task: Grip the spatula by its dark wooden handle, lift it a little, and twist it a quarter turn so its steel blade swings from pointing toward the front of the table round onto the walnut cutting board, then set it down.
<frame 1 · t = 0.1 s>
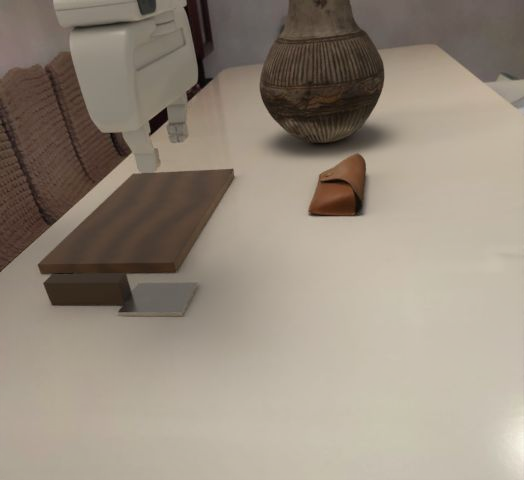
hand: (166, 154, 53), 17 cm above the table, tool pointing down, fingers open, 8 cm apart
vase: (323, 141, 112), on the table
board: (151, 218, 87), on the table
spatula: (159, 300, 65), on the table
sunglasses case: (339, 195, 87), on the table
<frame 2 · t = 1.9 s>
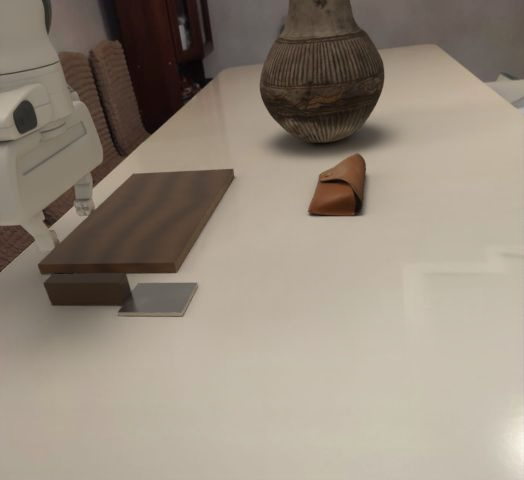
hand: (69, 229, 61), 9 cm above the table, tool pointing down, fingers open, 8 cm apart
nothing on the table moved.
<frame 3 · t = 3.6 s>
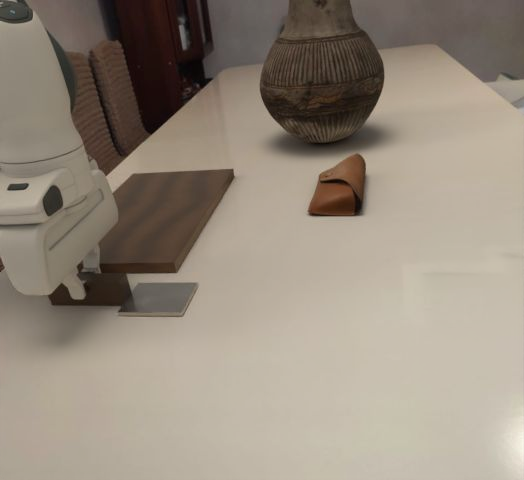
hand: (87, 288, 66), 2 cm above the table, tool pointing down, fingers closed on spatula, 2 cm apart
spatula: (159, 300, 65), on the table, touching gripper
everything else where it was.
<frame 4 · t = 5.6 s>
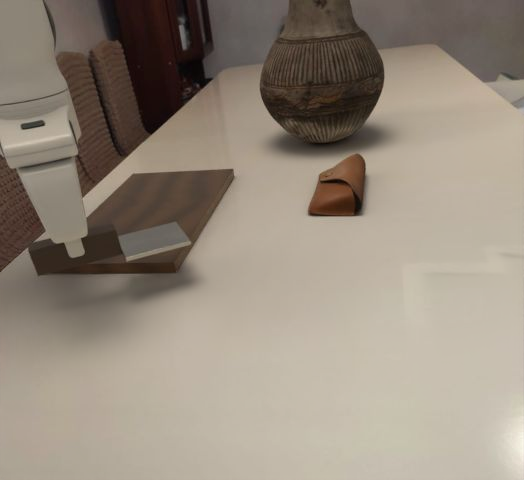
hand: (75, 248, 63), 7 cm above the table, tool pointing down, fingers closed on spatula, 2 cm apart
spatula: (153, 242, 66), point 5 cm above the table, touching gripper
everything else where it was.
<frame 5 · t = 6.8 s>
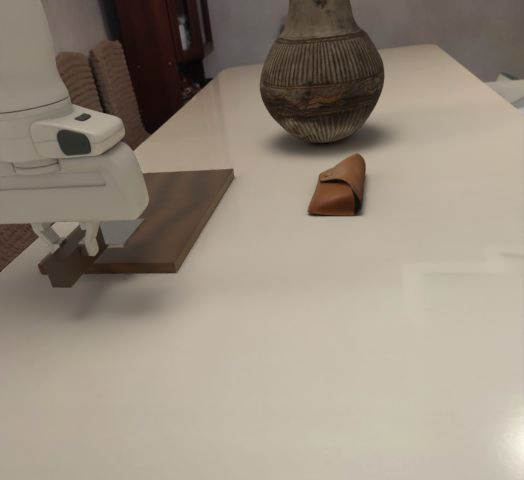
hand: (76, 254, 63), 6 cm above the table, tool pointing down, fingers closed on spatula, 2 cm apart
spatula: (110, 234, 71), point 5 cm above the table, touching gripper
everything else where it was.
when the fingers open (3 cm above the table, at t = 7.9 s): spatula stays where it is, resting on board.
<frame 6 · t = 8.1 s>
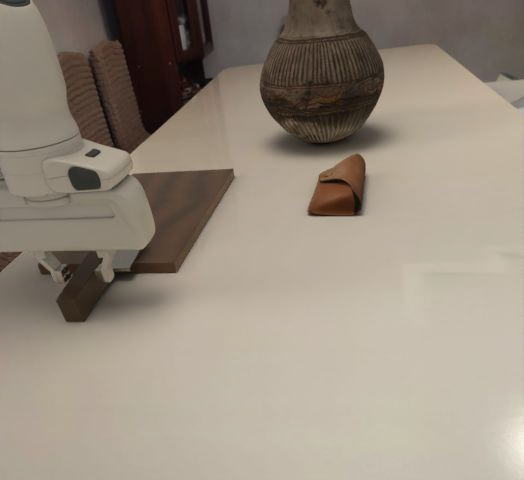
hand: (84, 280, 65), 3 cm above the table, tool pointing down, fingers open, 4 cm apart
spatula: (116, 254, 73), point 2 cm above the table, tilted 7°, touching board
everything else where it was.
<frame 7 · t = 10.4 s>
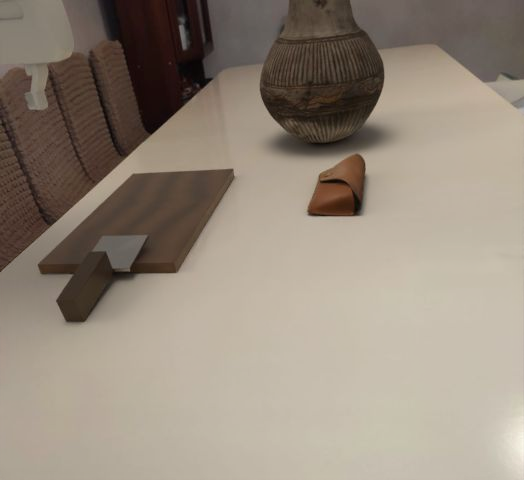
hand: (1, 110, 59), 22 cm above the table, tool pointing down, fingers open, 8 cm apart
nothing on the table moved.
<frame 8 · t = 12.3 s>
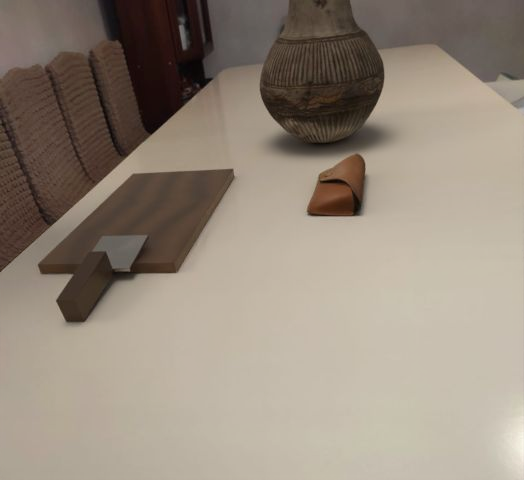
nothing on the table moved.
at the end: spatula inside the target area on the board (2.4 cm from its centre), point 1.8 cm above the board's base; spatula moved 12.9 cm from its start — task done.
